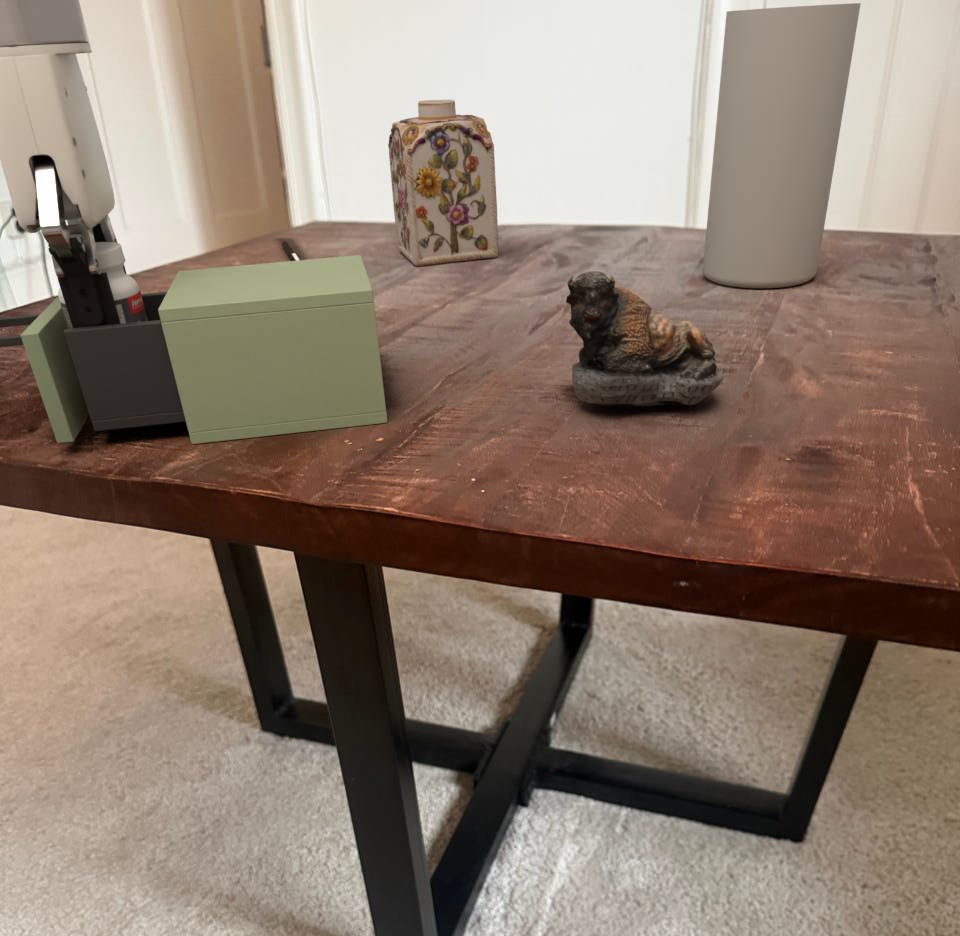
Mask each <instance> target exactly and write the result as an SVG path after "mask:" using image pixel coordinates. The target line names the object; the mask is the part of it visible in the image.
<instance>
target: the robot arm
mask: <svg viewBox="0 0 960 936" xmlns="http://www.w3.org/2000/svg"><path fill="white" fill-rule="evenodd" d="M92 53H93V51H92V46H91V43H90V39H89V34H88V30H87V27H86V22H85V19H84V15H83V10H82V8H81V3H80V0H0V164H1V168H2V171H3V174H4V179H5V182H6V186H7V189H8V192H9V193H8V194H9V196H10V200H11V203H12V206H13V211H14V213H15V217H16V220H17V223H18V225H19V226H20V228H22V229H23V230H24V231H26V232H27V233H29V234H35V233H36V234H37V233H38V232H39V231H41V234H42V236H43V237H44V240H45V241H46V243H47V244H48V245H47V246H48V248H47V249H48V252H49V254H50V255H51V256H50V257H51V259H52V265H53V269H54V273H55V276H56V277H57V282H58V285H59V289H60V288H61V291H62V295H63V298H64V301H65V304H66V307H67V311H68V314H69V317H70V320H71V324H72V327H73V328H81V327H92V326H102V325H113V324H121V323H120V319H119V316H118V312H117V309H116V305H115V301H114V298H113V294H112V291H111V287H110V283H109V280H108V276H107V273H106V272H104V273H101V270H100V264H99V259H98V254H97V250H96V245H95V242H115V243H118V240H117V237H116V234H115V231H114V228H113V224H112V222H111V218H110V216H109V214H110V213H111V212H112V211H113V210H114V208H115V205H116V204H115V203H116V202H115V199H116V198H115V193H114V189H113V188H114V187H113V183H112V179H111V175H110V169H109V166H108V164H107V163H108V162H107V158H106V155H105V151H104V146H103V144H102V140H101V139H102V138H101V136H100V133H99V129H98V125H97V122H96V121H97V120H96V117H95V114H94V111H93V107H92V103H91V100H90V97H89V94H88V87H87V85H86V83H85V80H84V77H83V74H82V71H81V67H80V64H79V60H78V57H77V55H78V54H79V55H80V54H92ZM82 244H83V245H84V249H85V251H84V250H83V248H82ZM123 269H124V272H125V274H127V270H126V266H125V265H124V266H123Z"/></svg>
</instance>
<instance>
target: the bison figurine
mask: <svg viewBox="0 0 960 936" xmlns="http://www.w3.org/2000/svg"><path fill="white" fill-rule="evenodd" d="M567 287H568V290H569V294H568V295H567V296H566V300H565V303H566V304H569V305H570V319H569V321H568V323H569V325H570V326H571V327H572V328H573V330H574V331H575V332H576V334H577V335H578V336H579V338H581V341H582V346H583V347H581V348H580V350H579V352H578V360H579V362H574V363H573V364H572V365H571V381H572V385H573V390H574V394H575V396H576V398H577V399H578V400H579V401H581V402H584V403H586V404H591V405H597V406H614V407H615V406H616V407H617V406H618V407H637V408H638V407H641V408H642V407H663V406H694V405H697V404H698V403H700V402H702V401H703V400H704V399H706V398H707V397H708V396H709V395H711V394H712V393H713V392H715V390H716V389H717V388H718V387H719V386H720V384H722V382H723V380H724V376H723V374H722V373H721V372H719V371H718V370H717V369H718V366H717V364H716V362H717V361H716V358H715V355H716V351H715V349H714V347H713V342H712V341H711V340H710V339H709V337H708V335H707V334H706V332H705V330H703V329H701V328H699V327H697V326H695V325H694V324H693V322H691V321H689V320H683V321H676V320H675V321H674V320H671V319H670V318H668V317H667V316H666V315H665V314H662V313H661V312H660V311H658V310H656V309H654V308H653V307H652V306H651V305H649V304H648V303H647V302H646V301H645V300H644V299H642V298H641V297H640V296H638V295H637V294H636V293H634V292H632V291H631V290H629V289H626V288H623V287H622V286H619V285H616V280H615V278H614V276H613V274H610V278H609V277H608V276H607V275H606V274H605V273H604V272H602V271H595V270H591V271H585V272H582V273H581V274H579V275H578V276H577V277H575V278H574V275H570V276H569V278H568V279H567Z"/></svg>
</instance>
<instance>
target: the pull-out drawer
mask: <svg viewBox="0 0 960 936" xmlns="http://www.w3.org/2000/svg"><path fill="white" fill-rule="evenodd" d="M167 292H168V291H157V292H147V293H141V296H142V300H143V304H144V308H145V312H146V316H147V319H148V321H145V322H134V323H123V324H113V325H102V326H92V327H81V328H70V329H68V326H67V323H66V319H65V316H64V313H63V310H62V307H61V303H60V300H59V295H57V296H56V297H55V298H54V299H53V300H52V301H51V302H50V303H49V305H48V306H47V307H46V308H45V309H44V310H43V311H42V312H41V313H37V314H29V315H28V314H27V315H18V316H17V315H16V316H7V317H6V316H4V317H0V328H1V329H2V328H10V327H21V326H22V327H23V326H27V328H26V329H24V331H22V332H21V334H15V335H6V336H0V348H7V347H16V346H23V347H24V350H25V354H26V356H27V358H28V361H29V364H30V365H29V366H30V368H31V370H32V373H33V377H34V380H35V382H36V385H37V388H38V391H39V393H40V397H41V400H42V402H43V406H44V409H45V411H46V414H47V417H48V420H49V423H50V426H51V429H52V431H53V434H54V438H55V440H56V443H57V444H67V443H74V442H75V440H77V437H78V435H79V433H80V432H81V430H82V428H83V426H84V424H85V423H86V420H87V419H88V417H89V419H90V421H91V425H92V428H93V431H94V432H103V431H110V430H111V431H112V430H121V429H131V428H138V427H139V428H140V427H150V426H159V425H167V424H176V423H177V424H178V423H186V420H185V416H184V412H183V408H182V404H181V400H180V396H179V392H178V388H177V384H176V380H175V376H174V372H173V368H172V364H171V360H170V356H169V352H168V348H167V344H166V340H165V336H164V332H163V328H162V324H161V323H162V322H161V320H160V316H159V312H158V309H159V307H160V305H161V303H162V301H163V299H164V297H165V295H166V294H167Z"/></svg>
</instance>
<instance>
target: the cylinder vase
mask: <svg viewBox="0 0 960 936" xmlns="http://www.w3.org/2000/svg"><path fill="white" fill-rule="evenodd" d="M860 11H861V3H860V2H856V3H837V4H836V3H835V4H833V3H832V4H817V5H799V6H784V7H768V8H754V9H753V8H751V9H740V10H739V9H737V10H728V11H726V13H725V14H726V17H725V24H724V37H723V47H722V56H721V68H720V80H719V89H718V90H719V91H718V102H717V113H716V124H715V131H714V132H715V134H714V143H713V154H712V155H713V156H712V165H711V166H712V167H711V177H710V185H709V186H710V189H709V196H708V197H709V198H708V210H707V221H706V231H705V242H704V250H703V251H704V253H703V262H702V264H703V265H702V273H703V275H704V277H705V278H706V279H707V280H709V281H710V282H712V283H715V284H719V285H722V286H726V287H733V288H741V289H780V288H781V289H782V288H787V287H794V286H798V285H801V284H804V283H807V282H809V281H811V280H812V279H813V278H814V277H815V276H816V274H817V272H818V267H819V261H820V257H821V249H822V243H823V237H824V233H825V232H824V231H825V224H826V220H827V219H826V218H827V213H828V208H829V207H828V206H829V200H830V195H831V189H832V181H833V176H834V168H835V165H836V164H835V163H836V158H837V150H838V145H839V138H840V134H841V133H840V132H841V127H842V121H843V114H844V108H845V102H846V96H847V90H848V85H849V78H850V71H851V67H852V59H853V52H854V47H855V40H856V35H857V28H858V23H859V16H860Z"/></svg>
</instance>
